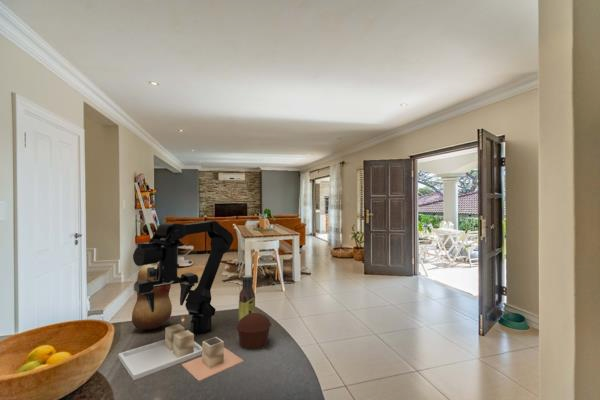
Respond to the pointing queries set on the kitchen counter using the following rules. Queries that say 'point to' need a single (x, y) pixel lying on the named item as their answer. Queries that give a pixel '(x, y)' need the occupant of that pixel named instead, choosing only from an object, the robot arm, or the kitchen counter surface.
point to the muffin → (253, 331)
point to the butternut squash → (162, 304)
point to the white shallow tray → (153, 359)
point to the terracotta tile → (203, 371)
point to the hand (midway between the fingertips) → (167, 308)
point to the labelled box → (212, 352)
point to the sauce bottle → (246, 297)
